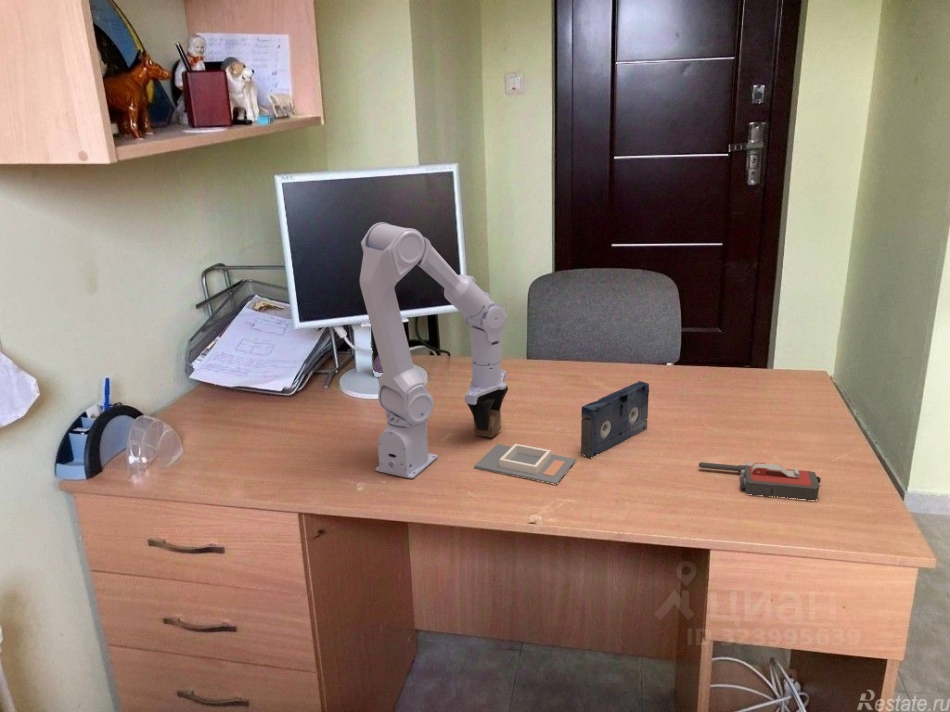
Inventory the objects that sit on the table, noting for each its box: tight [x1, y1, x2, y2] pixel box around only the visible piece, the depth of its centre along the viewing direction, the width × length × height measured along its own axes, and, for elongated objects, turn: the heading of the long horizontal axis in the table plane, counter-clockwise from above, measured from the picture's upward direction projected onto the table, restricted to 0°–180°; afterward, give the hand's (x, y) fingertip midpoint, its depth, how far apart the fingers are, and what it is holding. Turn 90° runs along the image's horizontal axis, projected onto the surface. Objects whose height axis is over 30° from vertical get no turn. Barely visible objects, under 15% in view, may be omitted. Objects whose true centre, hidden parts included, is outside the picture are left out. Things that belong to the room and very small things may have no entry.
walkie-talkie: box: [698, 461, 822, 500], centre depth 133 cm, size 9×4×20 cm
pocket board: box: [473, 443, 577, 484], centre depth 142 cm, size 10×16×2 cm, turn 63°
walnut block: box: [473, 410, 502, 438], centre depth 155 cm, size 4×4×4 cm
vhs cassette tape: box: [580, 380, 650, 459], centre depth 150 cm, size 18×3×10 cm, turn 132°
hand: (487, 425), depth 155 cm, fingers closed on walnut block, 4 cm apart
